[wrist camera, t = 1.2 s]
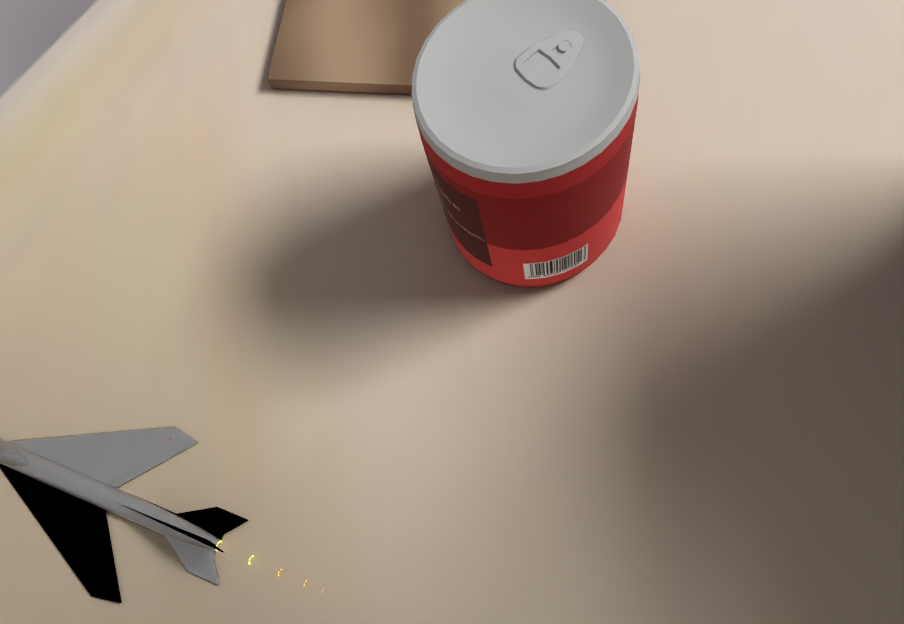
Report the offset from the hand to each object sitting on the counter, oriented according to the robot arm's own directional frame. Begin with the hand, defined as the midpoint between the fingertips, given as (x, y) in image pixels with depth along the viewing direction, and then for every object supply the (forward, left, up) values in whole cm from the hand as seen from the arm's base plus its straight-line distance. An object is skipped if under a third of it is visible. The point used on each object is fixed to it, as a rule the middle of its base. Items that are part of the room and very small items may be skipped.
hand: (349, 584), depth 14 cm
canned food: (-1, -17, -21) cm, 27 cm away
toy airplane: (+16, -2, -21) cm, 27 cm away
